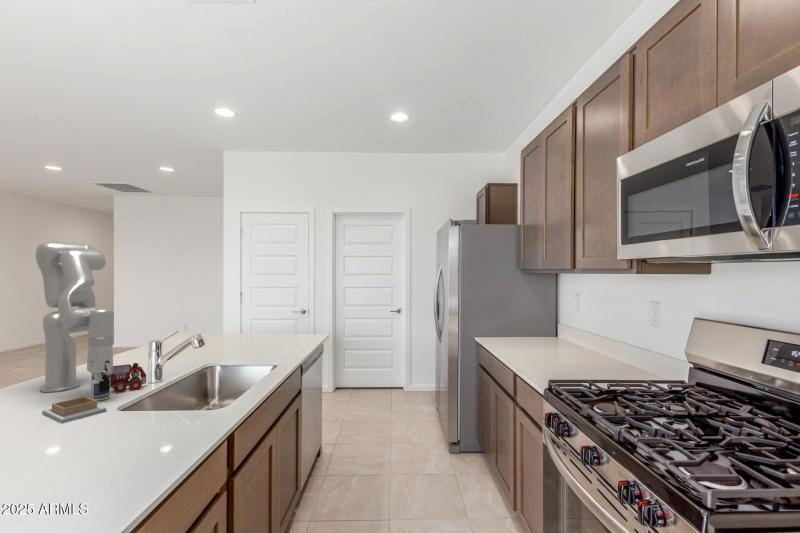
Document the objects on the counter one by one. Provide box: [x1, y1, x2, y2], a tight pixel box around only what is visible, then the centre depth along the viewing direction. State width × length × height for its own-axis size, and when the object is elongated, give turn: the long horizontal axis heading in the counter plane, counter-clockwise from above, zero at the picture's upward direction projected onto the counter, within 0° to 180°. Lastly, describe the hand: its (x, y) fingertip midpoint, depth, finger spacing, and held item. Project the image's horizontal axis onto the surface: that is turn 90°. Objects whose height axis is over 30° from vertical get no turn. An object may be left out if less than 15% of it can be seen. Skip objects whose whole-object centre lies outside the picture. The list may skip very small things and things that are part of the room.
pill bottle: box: [90, 374, 111, 402], centre depth 143 cm, size 5×5×10 cm
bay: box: [41, 395, 107, 424], centre depth 129 cm, size 16×12×4 cm
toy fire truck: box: [110, 362, 147, 394], centre depth 155 cm, size 7×12×10 cm, turn 129°
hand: (100, 389), depth 143 cm, fingers closed on pill bottle, 5 cm apart
